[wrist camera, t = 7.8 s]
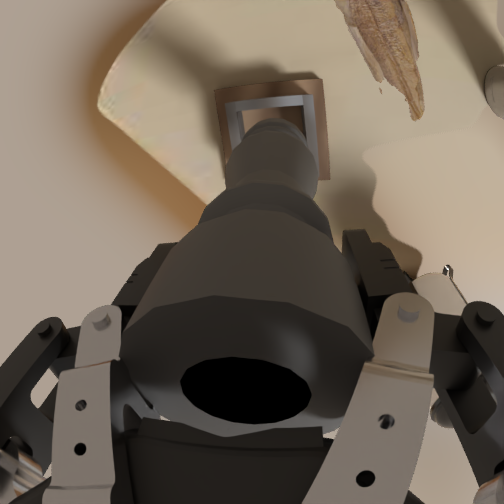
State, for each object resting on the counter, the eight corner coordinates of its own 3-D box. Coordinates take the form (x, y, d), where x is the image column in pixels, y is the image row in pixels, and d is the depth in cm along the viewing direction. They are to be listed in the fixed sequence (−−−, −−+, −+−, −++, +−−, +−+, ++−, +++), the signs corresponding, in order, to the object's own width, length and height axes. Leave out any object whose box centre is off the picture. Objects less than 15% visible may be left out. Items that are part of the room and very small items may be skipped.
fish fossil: (443, 114, 34) (446, 115, 33) (386, 131, 37) (388, 132, 36) (375, -39, 22) (377, -42, 21) (312, -25, 26) (312, -28, 25)
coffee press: (367, 299, 51) (406, 452, 26) (433, 242, 44) (521, 382, 18) (411, 338, 56) (448, 461, 30) (468, 292, 49) (531, 409, 23)
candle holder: (268, 104, 25) (187, 197, 4) (320, 145, 26) (441, 375, 5) (229, 154, 28) (84, 379, 6) (280, 191, 29) (266, 460, 8)
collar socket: (320, 79, 34) (328, 77, 28) (328, 176, 41) (336, 191, 35) (216, 90, 36) (205, 90, 30) (231, 184, 43) (223, 200, 37)
